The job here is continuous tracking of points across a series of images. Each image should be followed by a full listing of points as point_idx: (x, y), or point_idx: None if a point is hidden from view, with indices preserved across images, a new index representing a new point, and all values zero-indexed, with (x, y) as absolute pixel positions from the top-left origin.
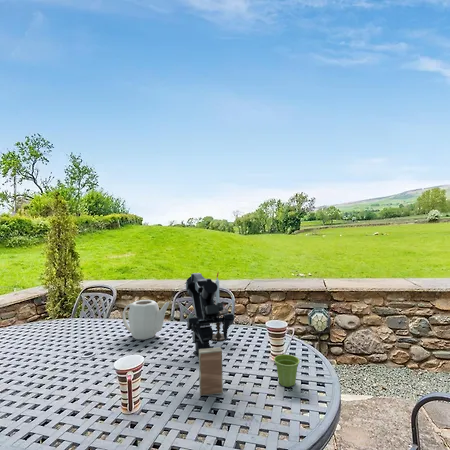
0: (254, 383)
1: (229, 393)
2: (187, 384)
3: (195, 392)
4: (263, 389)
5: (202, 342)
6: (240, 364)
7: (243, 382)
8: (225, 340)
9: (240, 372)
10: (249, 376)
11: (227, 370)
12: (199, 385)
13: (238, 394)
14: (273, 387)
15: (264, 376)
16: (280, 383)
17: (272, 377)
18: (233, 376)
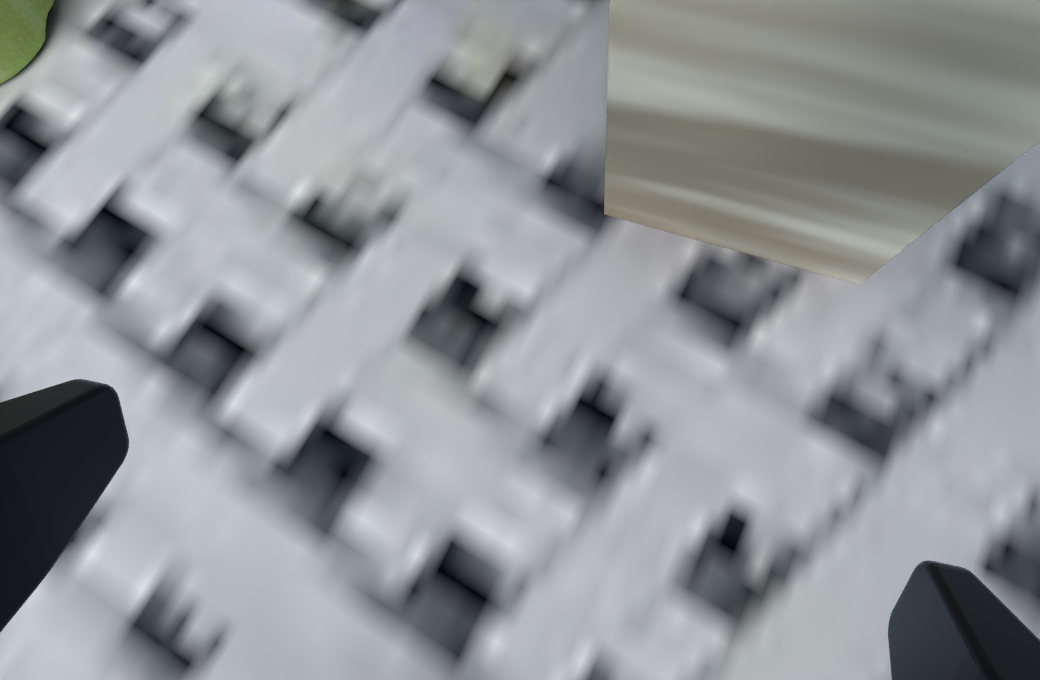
0: (241, 152)
1: (572, 97)
2: (957, 511)
3: (914, 281)
4: (241, 20)
5: (966, 571)
6: (83, 656)
7: (325, 223)
8: (120, 422)
9: (217, 449)
10: (191, 307)
11: (322, 589)
12: (886, 259)
13: (500, 44)
14: (141, 10)
15: (61, 229)
16: (47, 6)
17: (12, 172)
18: (344, 401)
